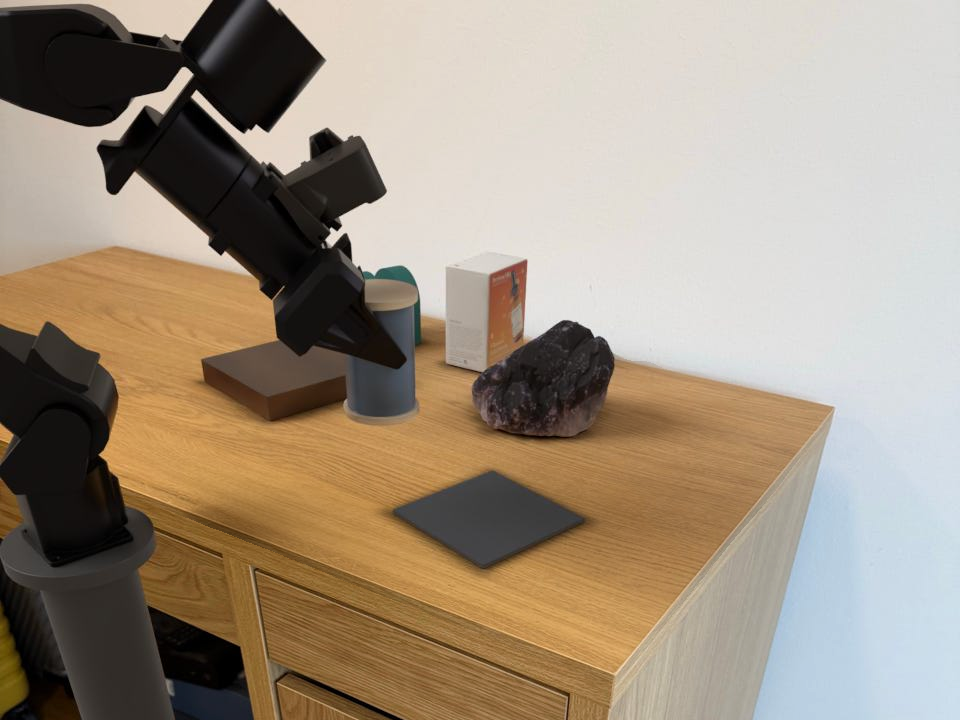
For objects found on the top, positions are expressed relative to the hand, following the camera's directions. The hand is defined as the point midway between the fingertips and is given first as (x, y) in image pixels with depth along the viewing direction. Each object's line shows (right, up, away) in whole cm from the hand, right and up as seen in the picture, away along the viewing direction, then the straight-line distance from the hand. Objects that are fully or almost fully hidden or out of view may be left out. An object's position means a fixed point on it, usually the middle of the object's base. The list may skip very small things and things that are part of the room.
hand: (397, 351), depth 68 cm
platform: (-13, +6, +28) cm, 32 cm away
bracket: (-9, +16, +43) cm, 47 cm away
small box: (+7, +10, +35) cm, 37 cm away
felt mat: (+7, -12, +6) cm, 15 cm away
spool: (-1, -4, +2) cm, 5 cm away
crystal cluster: (+12, +1, +23) cm, 26 cm away
